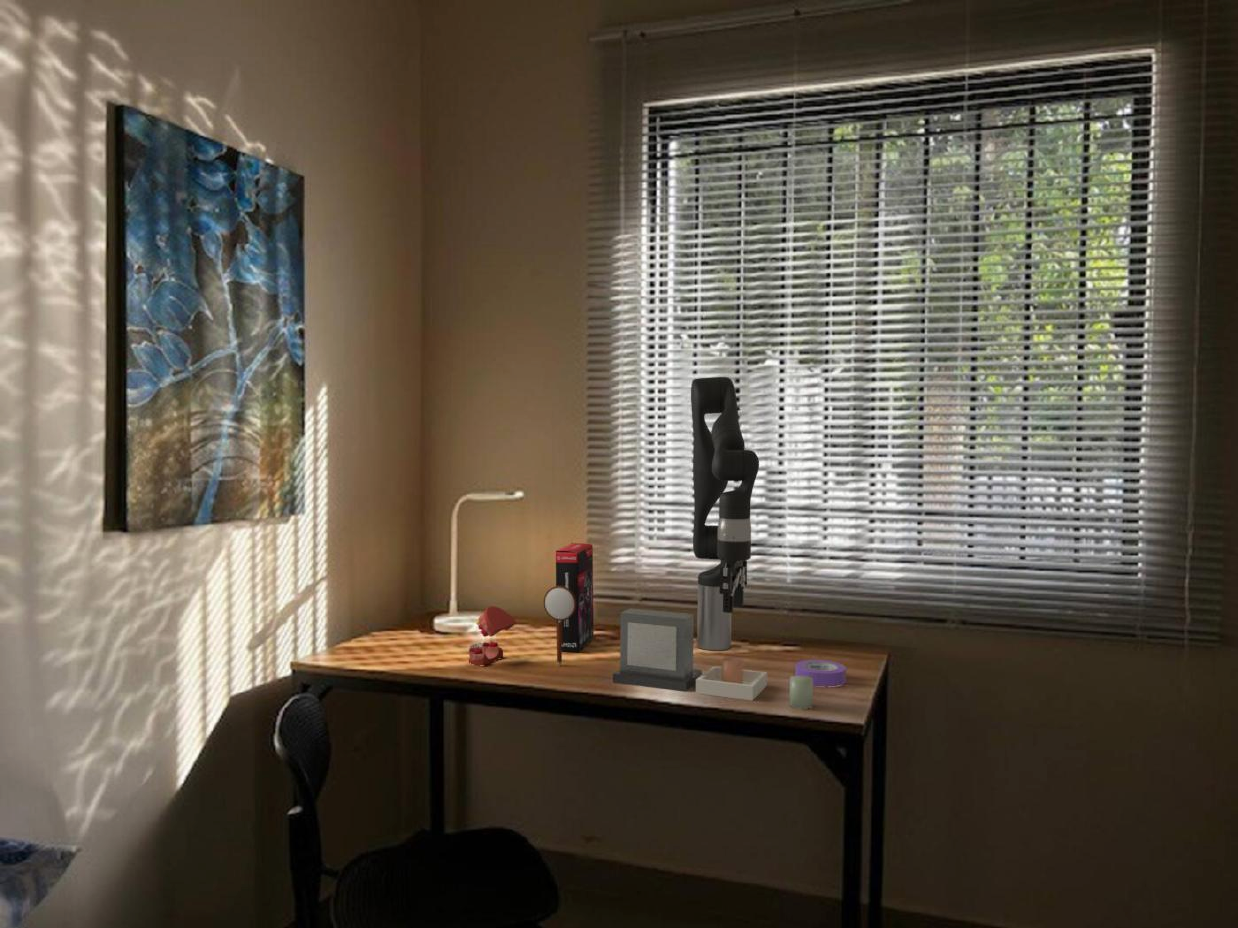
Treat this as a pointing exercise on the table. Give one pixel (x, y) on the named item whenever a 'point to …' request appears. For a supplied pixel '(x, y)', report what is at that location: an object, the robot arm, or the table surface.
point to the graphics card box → (577, 593)
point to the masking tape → (822, 672)
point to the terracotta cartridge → (732, 670)
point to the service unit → (657, 650)
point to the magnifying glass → (559, 610)
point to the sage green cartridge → (801, 692)
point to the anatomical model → (490, 625)
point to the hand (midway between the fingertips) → (733, 609)
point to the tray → (731, 684)
